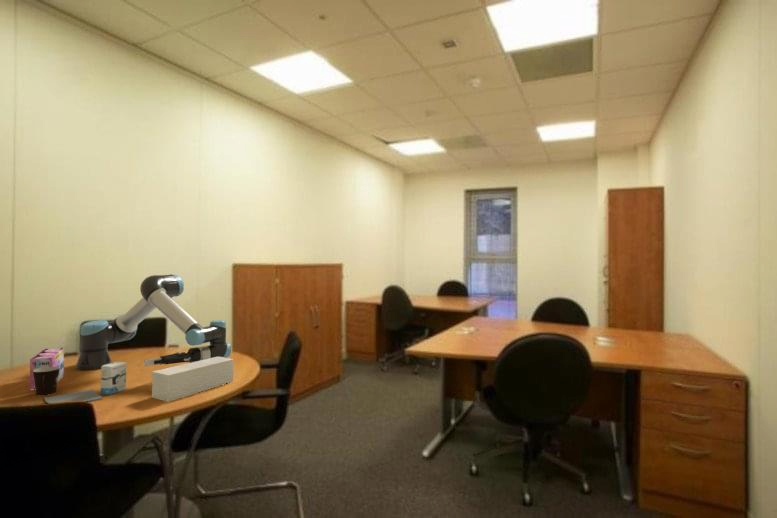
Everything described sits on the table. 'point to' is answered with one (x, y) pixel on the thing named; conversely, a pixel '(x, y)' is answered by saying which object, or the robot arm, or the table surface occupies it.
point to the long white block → (191, 378)
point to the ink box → (113, 377)
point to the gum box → (47, 362)
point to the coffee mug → (46, 380)
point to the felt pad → (75, 397)
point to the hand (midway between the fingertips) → (145, 363)
